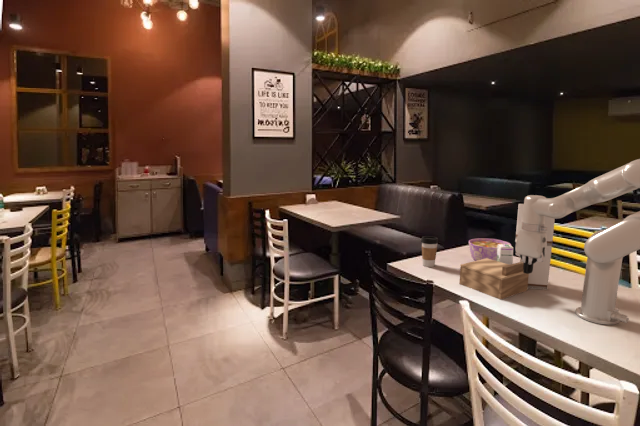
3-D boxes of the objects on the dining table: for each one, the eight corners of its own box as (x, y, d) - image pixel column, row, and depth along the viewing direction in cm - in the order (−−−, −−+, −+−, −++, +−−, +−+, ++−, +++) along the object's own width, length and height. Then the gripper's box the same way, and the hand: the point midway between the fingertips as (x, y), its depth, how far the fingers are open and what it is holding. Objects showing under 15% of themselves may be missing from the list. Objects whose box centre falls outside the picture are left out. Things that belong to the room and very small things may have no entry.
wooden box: (527, 290, 156) (528, 272, 154) (500, 299, 147) (502, 280, 146) (485, 276, 173) (486, 260, 171) (459, 283, 164) (460, 266, 163)
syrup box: (511, 277, 171) (514, 247, 169) (498, 276, 173) (500, 246, 170) (508, 273, 177) (510, 244, 174) (495, 272, 178) (497, 243, 176)
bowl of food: (468, 268, 184) (470, 246, 182) (465, 257, 203) (467, 237, 201) (513, 272, 178) (515, 249, 176) (505, 260, 197) (507, 239, 195)
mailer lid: (529, 272, 154) (529, 262, 154) (502, 279, 146) (503, 269, 145) (486, 259, 171) (487, 250, 171) (460, 266, 163) (461, 256, 162)
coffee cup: (416, 264, 192) (417, 236, 190) (429, 262, 196) (430, 234, 193) (427, 268, 185) (428, 239, 182) (440, 266, 188) (442, 237, 186)
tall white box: (539, 281, 167) (547, 204, 161) (547, 289, 157) (555, 208, 150) (512, 278, 170) (518, 203, 164) (517, 287, 160) (524, 207, 154)
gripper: (558, 230, 138) (552, 277, 141) (519, 222, 150) (515, 265, 154) (546, 232, 134) (541, 280, 137) (508, 224, 147) (504, 268, 150)
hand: (527, 272), depth 145 cm, fingers closed
